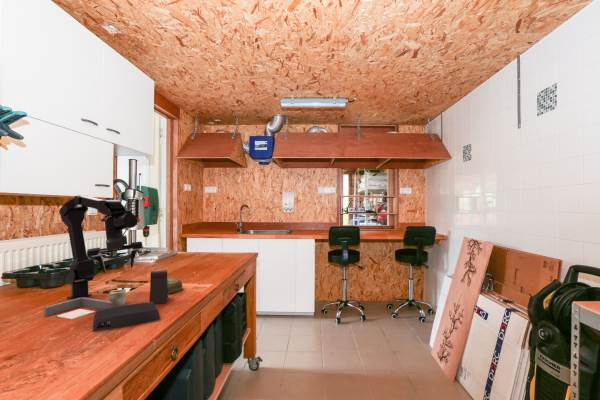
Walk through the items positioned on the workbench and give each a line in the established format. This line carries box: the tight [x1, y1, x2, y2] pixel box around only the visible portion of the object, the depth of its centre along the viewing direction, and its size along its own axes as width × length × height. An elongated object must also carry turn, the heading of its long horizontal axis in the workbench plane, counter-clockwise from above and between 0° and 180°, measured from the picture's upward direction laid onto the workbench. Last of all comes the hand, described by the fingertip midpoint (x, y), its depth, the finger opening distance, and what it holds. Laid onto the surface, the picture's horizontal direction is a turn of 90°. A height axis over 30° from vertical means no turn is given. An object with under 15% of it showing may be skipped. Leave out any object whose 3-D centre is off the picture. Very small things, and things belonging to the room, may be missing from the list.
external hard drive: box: [92, 302, 161, 332], centre depth 108 cm, size 13×19×4 cm
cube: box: [108, 288, 127, 307], centre depth 125 cm, size 5×5×5 cm
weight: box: [167, 277, 183, 294], centre depth 145 cm, size 14×14×5 cm
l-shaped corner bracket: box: [43, 297, 114, 321], centre depth 115 cm, size 17×13×3 cm
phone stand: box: [149, 270, 169, 305], centre depth 129 cm, size 9×6×12 cm, turn 17°
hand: (118, 270), depth 126 cm, fingers open, 9 cm apart
